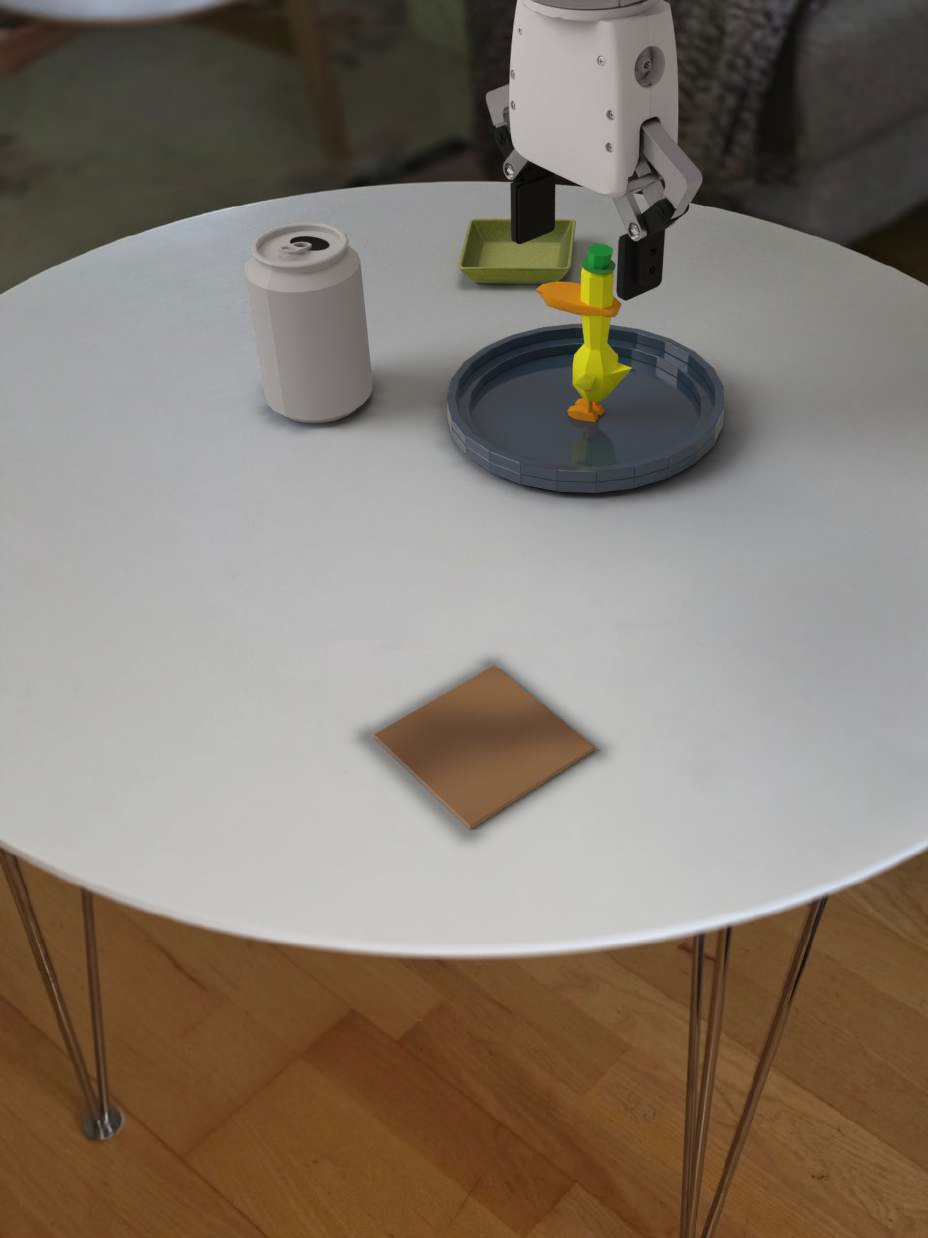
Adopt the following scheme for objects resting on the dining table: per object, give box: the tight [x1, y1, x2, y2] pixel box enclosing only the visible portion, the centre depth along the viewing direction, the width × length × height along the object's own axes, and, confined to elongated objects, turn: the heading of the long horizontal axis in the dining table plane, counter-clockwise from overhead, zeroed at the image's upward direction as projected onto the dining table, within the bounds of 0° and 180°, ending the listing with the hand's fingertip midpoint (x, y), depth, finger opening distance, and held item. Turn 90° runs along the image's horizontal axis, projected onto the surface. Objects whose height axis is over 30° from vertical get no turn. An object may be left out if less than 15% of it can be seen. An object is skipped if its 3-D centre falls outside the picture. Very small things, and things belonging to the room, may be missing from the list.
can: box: [243, 221, 374, 424], centre depth 91 cm, size 8×8×12 cm
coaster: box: [373, 664, 595, 831], centre depth 69 cm, size 8×8×1 cm
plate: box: [445, 323, 726, 494], centre depth 91 cm, size 18×18×2 cm
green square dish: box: [457, 217, 577, 285], centre depth 108 cm, size 9×9×2 cm
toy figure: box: [535, 242, 632, 422], centre depth 87 cm, size 7×4×12 cm, turn 59°
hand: (584, 263), depth 84 cm, fingers open, 9 cm apart
